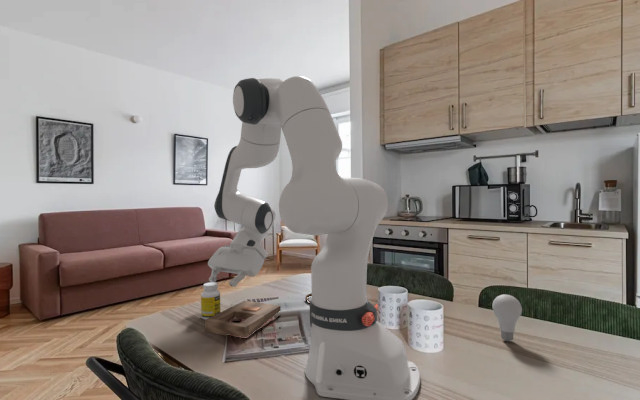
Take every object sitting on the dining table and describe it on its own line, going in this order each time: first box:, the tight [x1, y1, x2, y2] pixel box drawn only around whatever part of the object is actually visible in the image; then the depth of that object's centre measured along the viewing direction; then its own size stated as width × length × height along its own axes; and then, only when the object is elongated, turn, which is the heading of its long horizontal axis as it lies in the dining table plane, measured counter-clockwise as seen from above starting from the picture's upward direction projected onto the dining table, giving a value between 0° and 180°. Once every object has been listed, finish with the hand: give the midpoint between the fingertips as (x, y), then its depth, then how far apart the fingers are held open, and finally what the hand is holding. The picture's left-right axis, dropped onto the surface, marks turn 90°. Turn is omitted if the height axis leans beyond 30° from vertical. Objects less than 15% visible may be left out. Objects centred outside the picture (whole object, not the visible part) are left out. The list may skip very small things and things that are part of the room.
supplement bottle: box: [200, 281, 221, 320], centre depth 99 cm, size 5×5×10 cm
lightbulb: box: [491, 294, 523, 342], centre depth 79 cm, size 6×6×11 cm
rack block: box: [204, 300, 282, 337], centre depth 93 cm, size 13×17×3 cm
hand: (221, 283), depth 102 cm, fingers open, 8 cm apart
